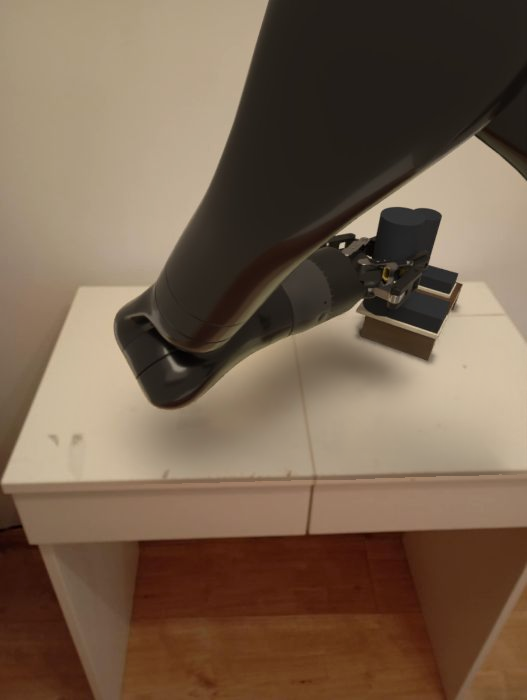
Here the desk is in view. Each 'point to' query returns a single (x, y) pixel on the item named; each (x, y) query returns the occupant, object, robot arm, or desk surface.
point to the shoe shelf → (406, 331)
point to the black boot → (433, 277)
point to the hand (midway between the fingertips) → (407, 249)
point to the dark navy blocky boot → (398, 243)
